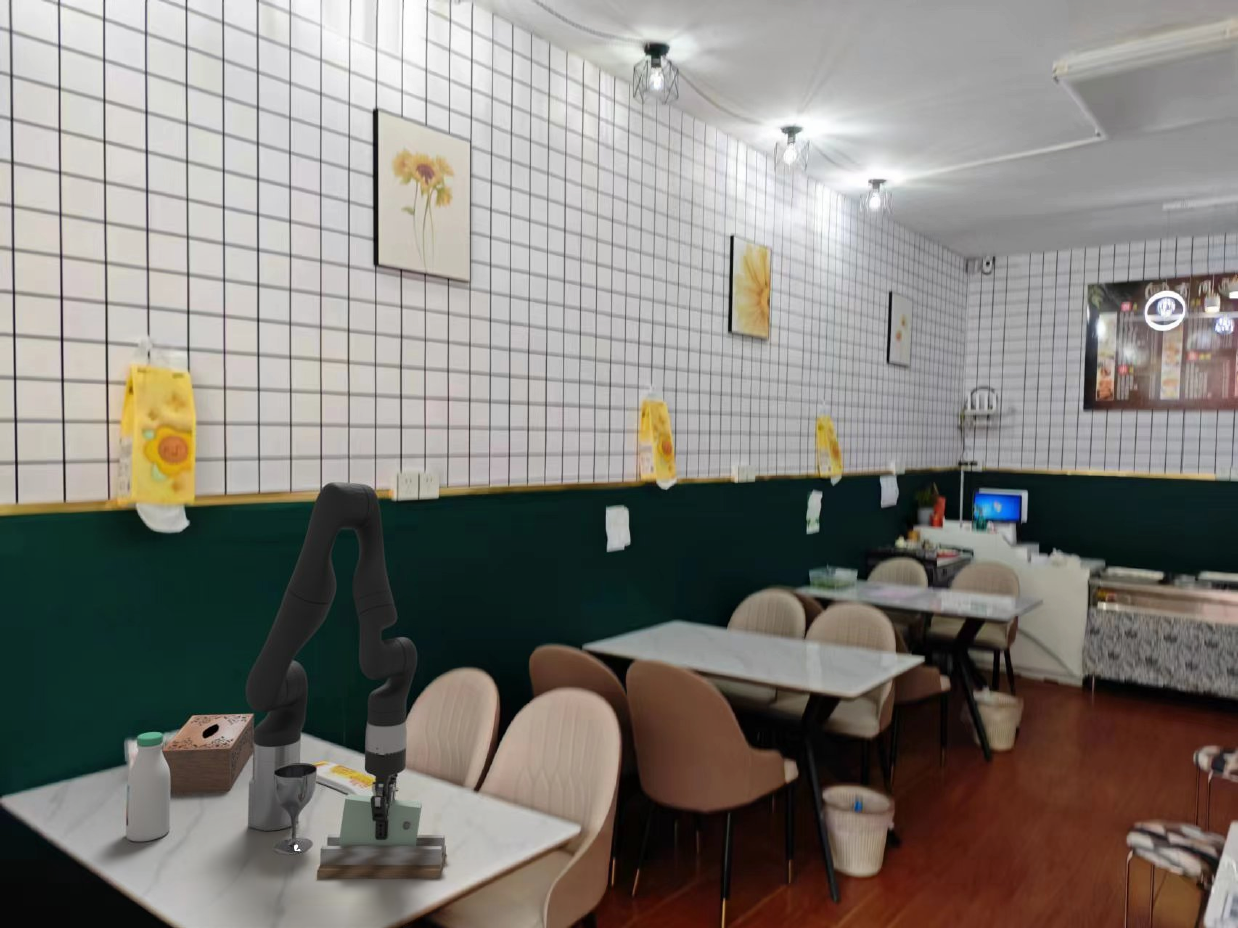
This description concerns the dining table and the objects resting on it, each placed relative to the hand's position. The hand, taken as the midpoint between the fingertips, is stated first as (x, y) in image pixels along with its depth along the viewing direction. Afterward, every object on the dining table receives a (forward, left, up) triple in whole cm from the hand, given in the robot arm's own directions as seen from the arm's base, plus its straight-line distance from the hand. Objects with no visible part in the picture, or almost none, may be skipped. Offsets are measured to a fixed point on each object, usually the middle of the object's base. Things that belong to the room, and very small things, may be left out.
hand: (383, 835), depth 167 cm
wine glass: (-19, +8, -6) cm, 21 cm away
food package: (-17, +41, -6) cm, 45 cm away
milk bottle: (-49, +13, -6) cm, 51 cm away
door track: (0, 0, -6) cm, 6 cm away
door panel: (-1, 0, -3) cm, 4 cm away
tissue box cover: (-50, +47, -6) cm, 69 cm away
